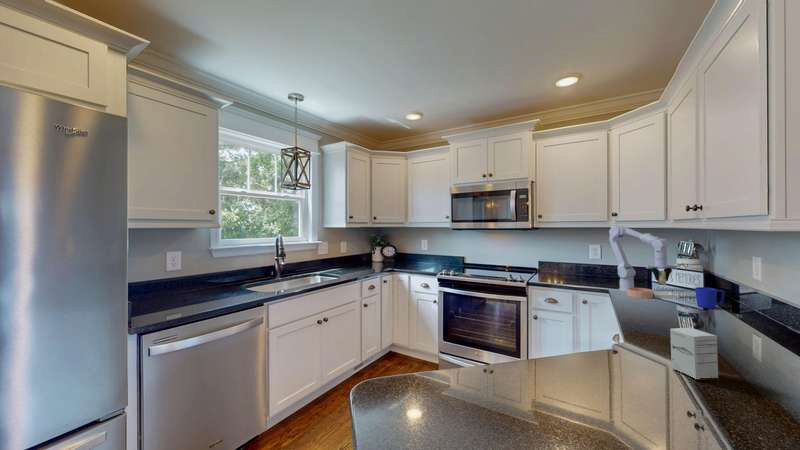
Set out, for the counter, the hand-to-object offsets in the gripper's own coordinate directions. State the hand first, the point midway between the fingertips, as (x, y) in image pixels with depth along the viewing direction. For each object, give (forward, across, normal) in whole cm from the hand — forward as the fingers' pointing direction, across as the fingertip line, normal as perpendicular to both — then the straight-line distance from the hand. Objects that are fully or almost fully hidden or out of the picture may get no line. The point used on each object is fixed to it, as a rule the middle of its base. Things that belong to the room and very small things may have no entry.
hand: (661, 280), depth 187 cm
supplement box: (+10, -34, -118) cm, 123 cm away
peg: (+2, 0, 0) cm, 2 cm away
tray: (+10, 0, 0) cm, 10 cm away
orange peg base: (+10, -12, -4) cm, 16 cm away
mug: (+10, +12, -24) cm, 29 cm away
